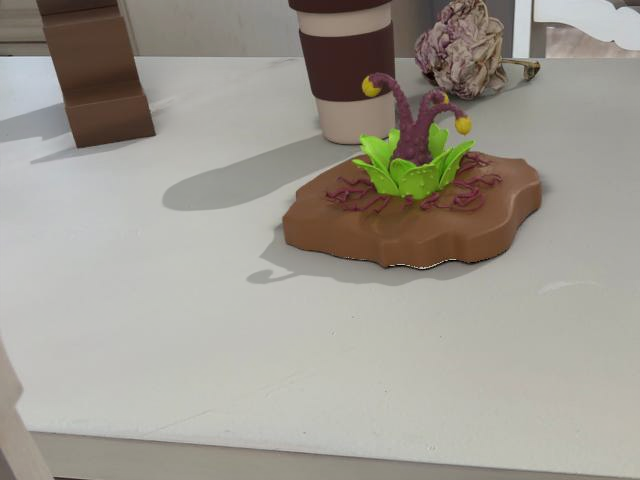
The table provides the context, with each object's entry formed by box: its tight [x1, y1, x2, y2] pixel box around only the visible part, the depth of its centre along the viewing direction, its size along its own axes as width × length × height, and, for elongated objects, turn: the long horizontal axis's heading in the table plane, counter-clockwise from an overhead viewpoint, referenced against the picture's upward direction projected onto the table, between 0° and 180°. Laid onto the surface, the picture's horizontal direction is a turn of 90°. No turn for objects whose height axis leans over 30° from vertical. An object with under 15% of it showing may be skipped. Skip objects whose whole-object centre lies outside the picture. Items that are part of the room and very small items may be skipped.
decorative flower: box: [413, 0, 541, 101], centre depth 108 cm, size 10×10×15 cm
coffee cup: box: [287, 0, 397, 145], centre depth 97 cm, size 10×10×15 cm
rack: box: [35, 0, 157, 149], centre depth 105 cm, size 13×8×12 cm, turn 20°
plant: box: [281, 72, 543, 268], centre depth 80 cm, size 20×20×11 cm
